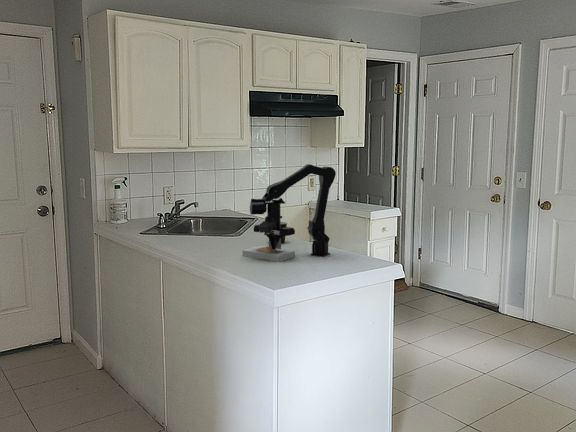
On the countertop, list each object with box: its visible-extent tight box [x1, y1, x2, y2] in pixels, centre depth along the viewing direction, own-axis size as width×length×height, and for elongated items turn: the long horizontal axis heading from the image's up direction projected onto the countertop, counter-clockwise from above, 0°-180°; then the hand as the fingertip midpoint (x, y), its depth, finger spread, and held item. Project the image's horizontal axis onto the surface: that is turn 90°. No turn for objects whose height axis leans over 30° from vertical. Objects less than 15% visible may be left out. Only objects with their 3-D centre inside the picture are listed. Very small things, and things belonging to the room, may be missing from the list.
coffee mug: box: [280, 221, 288, 245], centre depth 274 cm, size 12×9×10 cm
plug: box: [268, 238, 282, 249], centre depth 255 cm, size 4×4×8 cm
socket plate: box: [241, 245, 296, 263], centre depth 245 cm, size 20×12×2 cm, turn 54°
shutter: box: [256, 245, 277, 252], centre depth 246 cm, size 6×6×2 cm
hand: (274, 249), depth 243 cm, fingers closed
